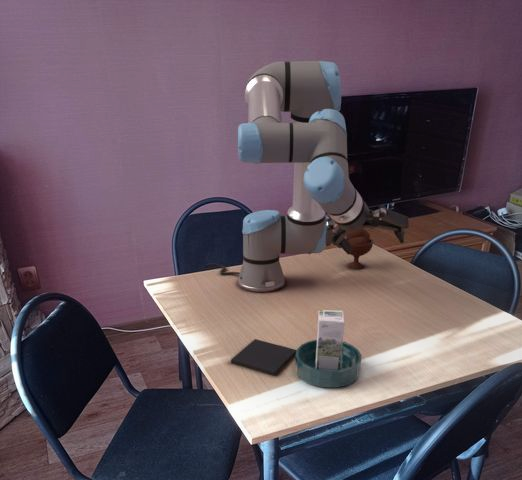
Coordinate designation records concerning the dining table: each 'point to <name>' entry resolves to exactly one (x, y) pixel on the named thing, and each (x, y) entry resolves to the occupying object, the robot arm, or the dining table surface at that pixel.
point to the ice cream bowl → (359, 246)
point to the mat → (264, 357)
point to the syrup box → (329, 340)
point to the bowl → (324, 378)
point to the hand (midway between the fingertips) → (375, 243)
